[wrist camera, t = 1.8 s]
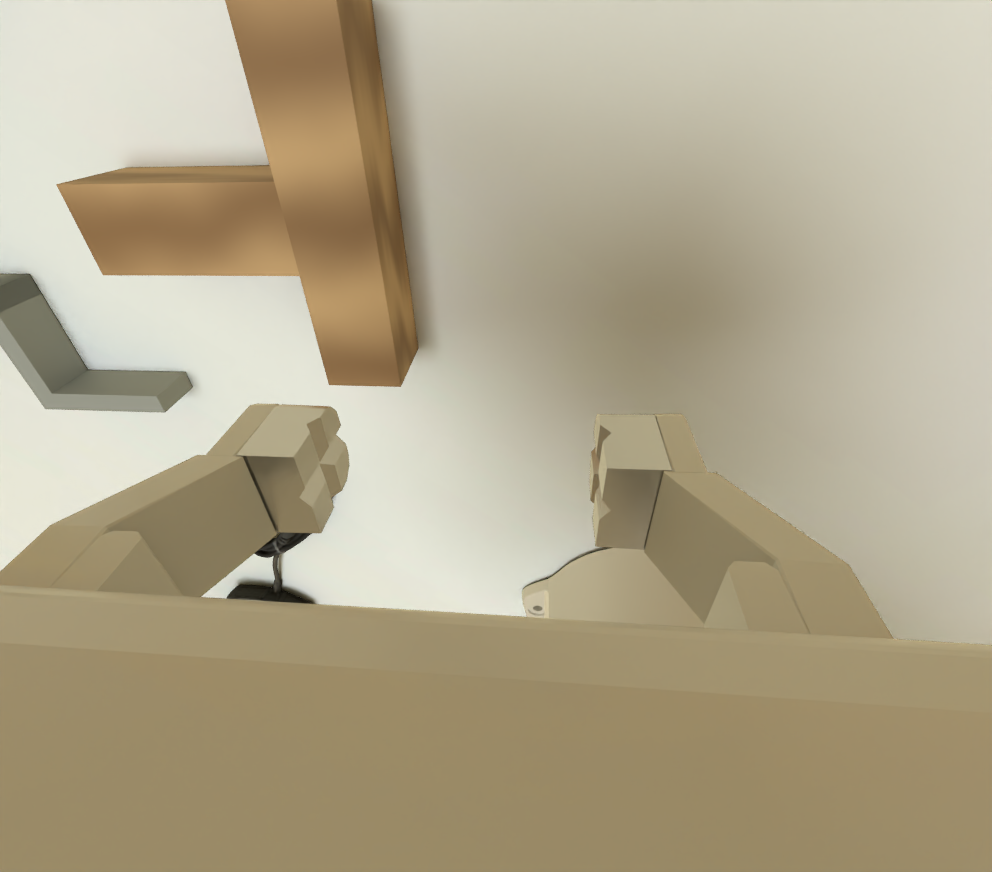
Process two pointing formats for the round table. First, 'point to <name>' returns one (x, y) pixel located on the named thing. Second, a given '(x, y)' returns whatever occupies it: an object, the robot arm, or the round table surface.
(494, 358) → the round table surface
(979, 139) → the round table surface
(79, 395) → the T bay
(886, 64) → the round table surface
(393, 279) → the T block
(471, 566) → the round table surface
